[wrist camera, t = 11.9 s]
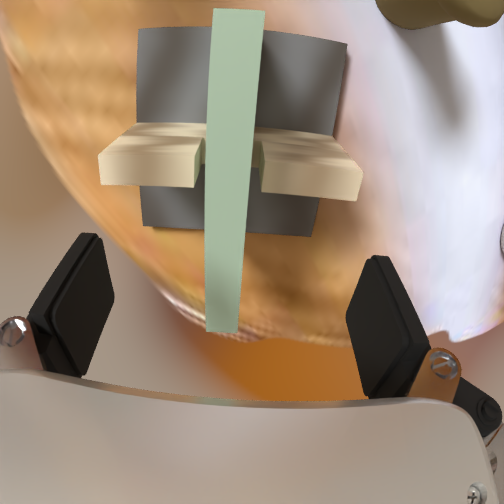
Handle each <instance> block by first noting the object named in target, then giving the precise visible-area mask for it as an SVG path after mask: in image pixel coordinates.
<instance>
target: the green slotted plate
mask: <svg viewBox="0 0 504 504" xmlns="http://www.w3.org/2000/svg"><path fill="white" fill-rule="evenodd" d="M264 18H265V11H260V10H246V9H224V8H214V9H213V21H212V34H211V48H210V64H209V81H208V101H207V125H206V157H205V308H206V331H209V332H226V333H237V330H238V317H239V304H240V291H241V279H242V266H243V254H244V242H245V230H246V218H247V206H248V194H249V182H250V171H251V159H252V148H253V137H254V125H255V114H256V103H257V92H258V81H259V70H260V60H261V49H262V39H263V28H264Z"/></svg>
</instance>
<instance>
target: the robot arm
mask: <svg viewBox="0 0 504 504" xmlns="http://www.w3.org/2000/svg"><path fill="white" fill-rule="evenodd" d="M501 247H502V251H503V253H504V226H503V230H502V235H501ZM113 303H114V291H113V287H112V282H111V278H110V274H109V269H108V265H107V260H106V255H105V250H104V246H103V241H102V239H101V238H99V237H98V235H97V234H96V233H81V234H80V235H79V236H78V238H77V239H76V240H75V242H74V243H73V245H72V246H71V247H70V249H69V250H68V252H67V253H66V255H65V256H64V258H63V259H62V261H61V262H60V263H59V265H58V266H57V268H56V269H55V271H54V272H53V274H52V276H51V277H50V279H49V280H48V282H47V283H46V285H45V287H44V288H43V290H42V291H41V293H40V294H39V296H38V298H37V299H36V301H35V303H34V304H33V306H32V308H31V309H30V311H29V315H28V316H27V318H26V319H25V318H24V317H21V316H14V317H10V318H8V319H6V320H5V321H4V322H2V323H1V324H0V504H504V423H502V411H501V409H500V406H499V404H498V403H497V402H496V401H495V400H494V399H493V398H492V397H490V396H489V395H487V394H486V393H484V392H483V391H481V390H480V389H478V388H477V387H475V386H474V385H472V384H471V383H469V382H468V381H466V380H465V379H463V378H462V377H460V376H461V366H460V363H459V361H458V359H457V358H456V356H455V355H454V354H452V353H451V352H450V351H448V350H446V349H444V348H433V349H431V346H430V344H429V340H428V338H427V335H426V333H425V331H424V328H423V326H422V324H421V322H420V319H419V317H418V315H417V313H416V311H415V309H414V306H413V304H412V302H411V300H410V298H409V296H408V294H407V292H406V290H405V288H404V286H403V284H402V282H401V280H400V278H399V276H398V274H397V272H396V270H395V268H394V266H393V264H392V262H391V260H390V258H389V257H388V256H379V255H373V256H372V257H371V259H367V260H366V262H365V265H364V268H363V270H362V273H361V276H360V278H359V281H358V284H357V286H356V289H355V291H354V294H353V297H352V299H351V302H350V304H349V307H348V309H347V312H346V323H347V327H348V330H349V334H350V338H351V342H352V346H353V350H354V354H355V358H356V362H357V366H358V371H359V375H360V379H361V383H362V388H363V392H364V394H365V396H368V397H369V399H364V400H342V401H301V402H300V401H291V402H290V401H253V400H234V399H220V398H208V397H197V396H188V395H179V394H170V393H163V392H155V391H148V390H142V389H135V388H129V387H123V386H118V385H112V384H107V383H102V382H96V381H92V380H87V379H82V378H81V377H82V375H85V374H86V373H87V370H88V368H89V365H90V362H91V359H92V357H93V354H94V351H95V349H96V346H97V343H98V341H99V338H100V335H101V333H102V330H103V328H104V325H105V323H106V320H107V318H108V315H109V313H110V311H111V308H112V306H113Z"/></svg>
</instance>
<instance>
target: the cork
mask: <svg viewBox="0 0 504 504" xmlns="http://www.w3.org/2000/svg"><path fill="white" fill-rule="evenodd" d="M375 1H376V4H377V6H378V8H379V9H380V11H381V12H382V14H383V15H384V16H385V17H386V18H387V19H388V20H389V21H390V22H392V23H393V24H395V25H397V26H399V27H401V28H405V29H410V30H414V29H421V28H425V27H429V26H433V25H437V24H441V23H446V22H450V21H455V20H457V21H458V22H461V23H463V24H466V25H469V26H472V27H488V26H491V25H493V24H495V23H497V22H498V21H499V19H500V18H501V16H502V15H503V13H504V0H375Z"/></svg>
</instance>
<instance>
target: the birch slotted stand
mask: <svg viewBox="0 0 504 504" xmlns="http://www.w3.org/2000/svg"><path fill="white" fill-rule="evenodd" d="M211 34H212V27H161V28H145V29H139V31H138V50H137V92H136V104H137V123H136V124H134V125H133V126H132V127H131V128H129V129H128V130H127V131H126V132H125V133H123V134H122V135H121V136H120V137H118V138H117V139H116V140H115V141H114V142H112V143H111V144H110V145H109V146H108V147H107V148H105V149H104V150H103V151H102V152H101V153H100V154H99V155H98V161H99V171H100V179H101V185H140V197H141V209H142V220H143V226H153V227H170V228H188V229H204V230H205V157H206V125H207V101H208V81H209V64H210V48H211ZM346 50H347V44H346V43H341V42H336V41H332V40H327V39H321V38H316V37H310V36H304V35H298V34H291V33H284V32H276V31H267V30H263V39H262V49H261V60H260V70H259V81H258V92H257V103H256V114H255V125H254V137H253V148H252V159H251V171H250V182H249V194H248V206H247V218H246V230H245V232H250V233H265V234H279V235H292V236H306V237H311V235H312V230H313V226H314V221H315V217H316V212H317V208H318V203H319V199H320V197H321V198H330V199H339V200H347V201H356V200H357V196H358V193H359V189H360V185H361V181H362V177H363V173H364V172H363V171H362V170H361V169H360V168H359V166H358V165H357V164H356V163H355V162H354V160H353V159H352V158H351V157H350V156H349V155H348V153H347V152H346V151H345V150H344V149H343V148H342V147H341V145H340V144H339V143H338V142H337V141H336V140H335V139H334V138H333V136H332V134H333V128H334V123H335V117H336V112H337V106H338V100H339V94H340V88H341V82H342V76H343V70H344V63H345V57H346Z"/></svg>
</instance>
